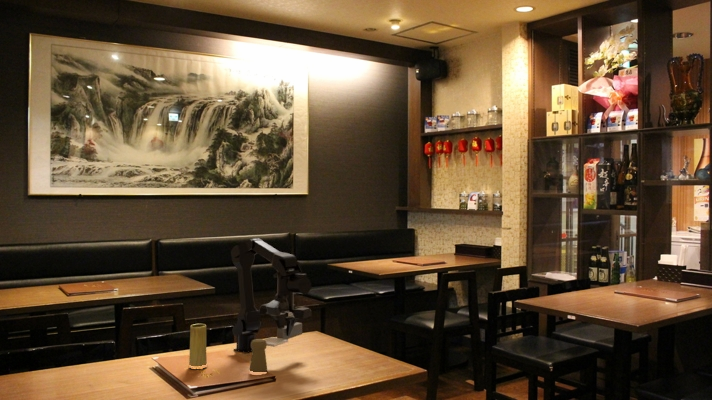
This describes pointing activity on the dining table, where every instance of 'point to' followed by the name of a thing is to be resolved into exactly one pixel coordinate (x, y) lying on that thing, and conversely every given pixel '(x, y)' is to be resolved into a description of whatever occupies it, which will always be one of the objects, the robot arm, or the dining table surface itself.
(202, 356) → the vase
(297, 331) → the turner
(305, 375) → the dining table surface
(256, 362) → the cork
